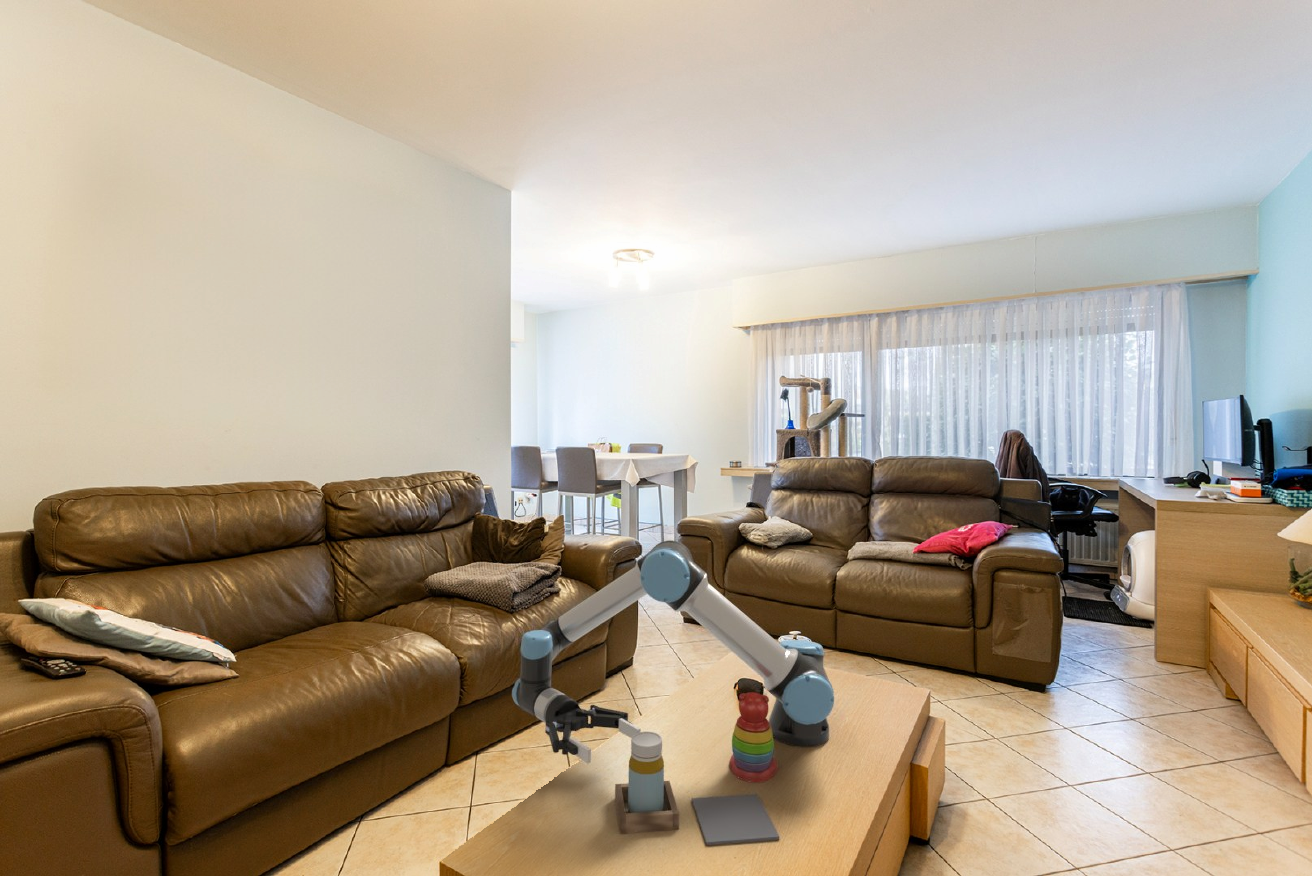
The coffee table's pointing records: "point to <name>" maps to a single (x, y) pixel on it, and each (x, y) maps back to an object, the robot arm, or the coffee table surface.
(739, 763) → the stacking bear
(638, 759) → the bottle
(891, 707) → the coffee table surface
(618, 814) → the walnut collar
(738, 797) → the charcoal mat
